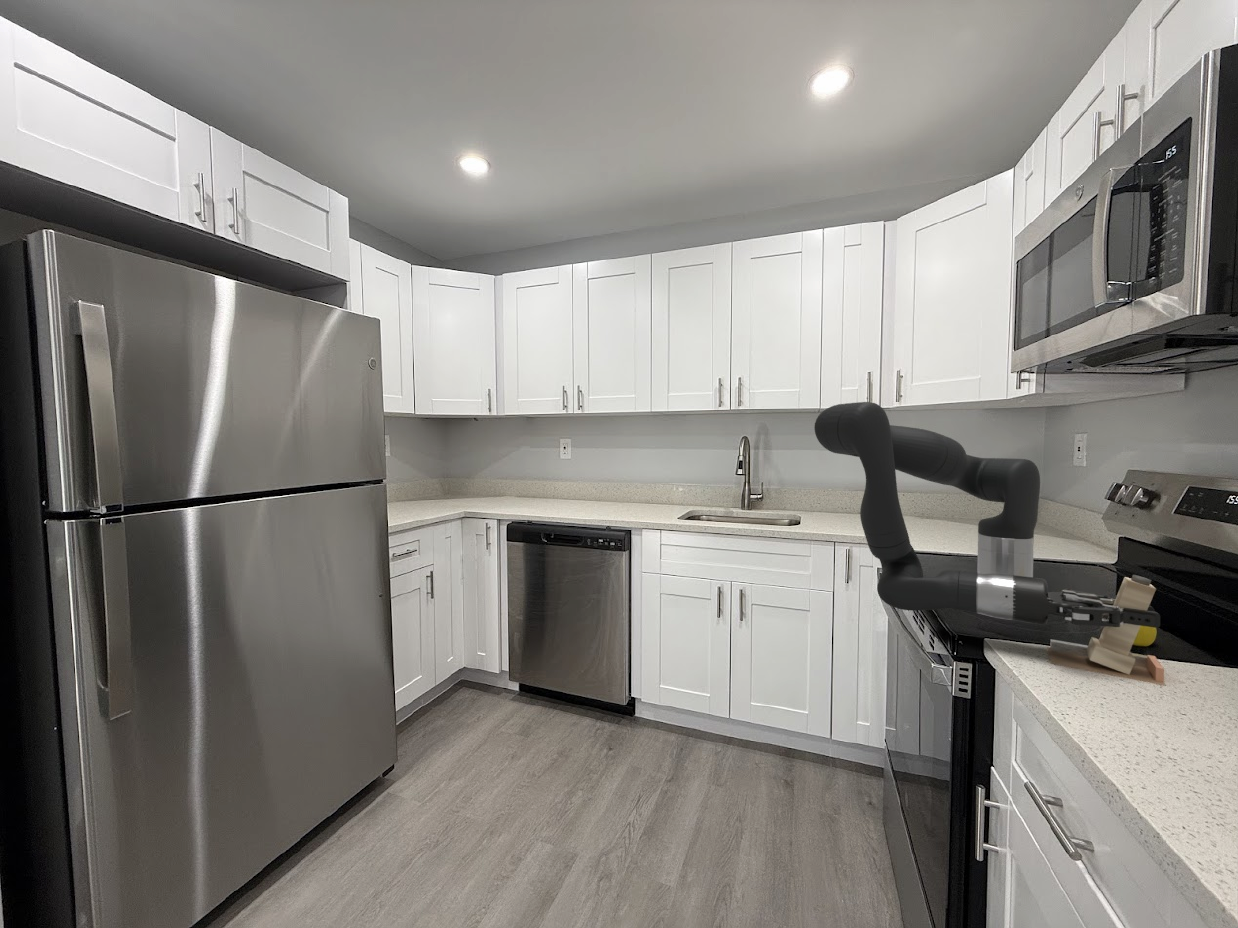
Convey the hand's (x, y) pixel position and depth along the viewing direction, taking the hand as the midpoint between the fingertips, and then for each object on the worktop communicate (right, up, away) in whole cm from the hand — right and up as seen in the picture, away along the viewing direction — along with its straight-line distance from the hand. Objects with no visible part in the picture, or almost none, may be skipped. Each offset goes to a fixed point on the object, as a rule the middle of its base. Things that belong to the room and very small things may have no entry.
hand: (1155, 616), depth 75 cm
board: (-4, -10, +4) cm, 12 cm away
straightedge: (-3, -9, +6) cm, 11 cm away
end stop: (0, -9, 0) cm, 9 cm away
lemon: (+10, -10, +13) cm, 19 cm away
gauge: (-4, -8, +3) cm, 10 cm away
